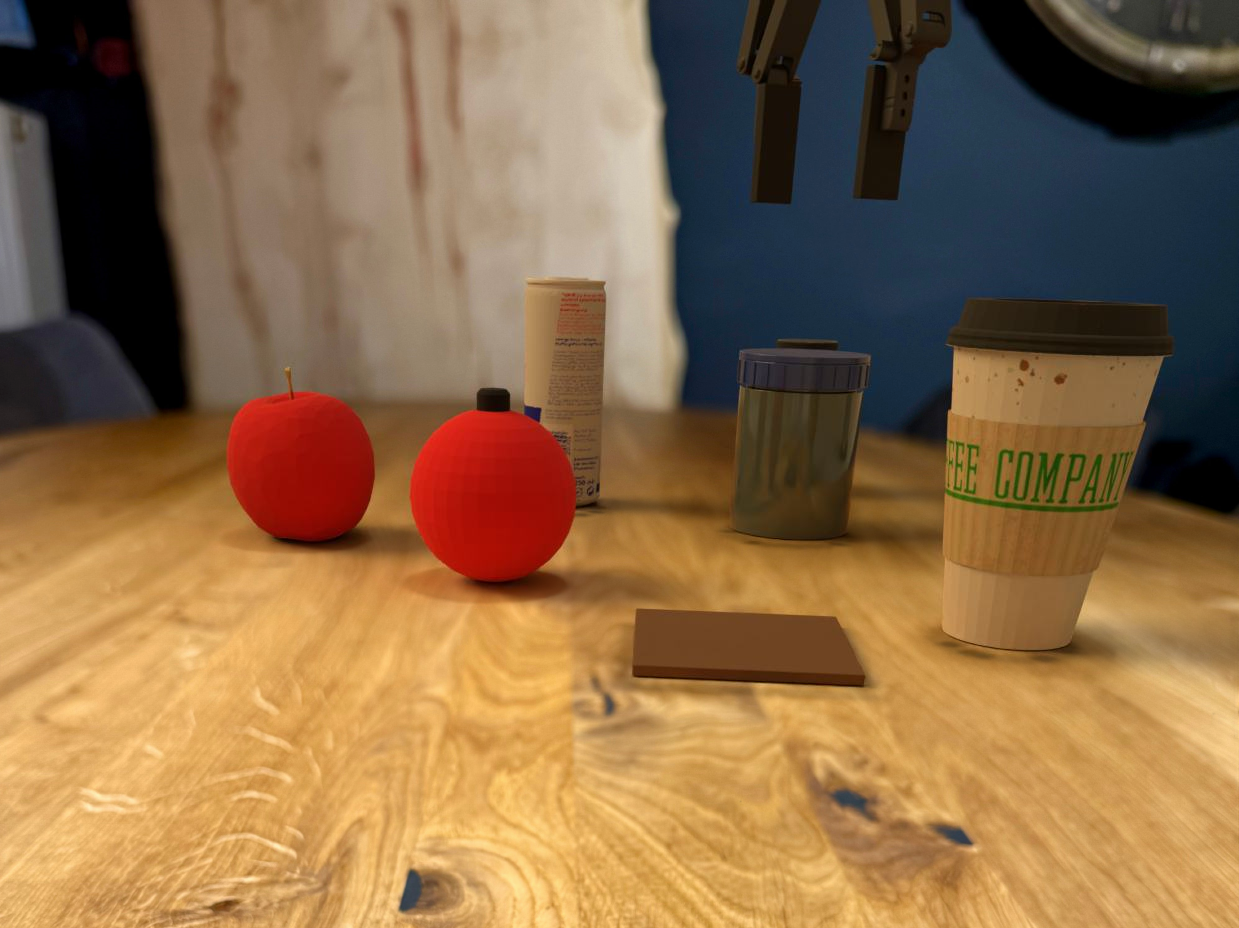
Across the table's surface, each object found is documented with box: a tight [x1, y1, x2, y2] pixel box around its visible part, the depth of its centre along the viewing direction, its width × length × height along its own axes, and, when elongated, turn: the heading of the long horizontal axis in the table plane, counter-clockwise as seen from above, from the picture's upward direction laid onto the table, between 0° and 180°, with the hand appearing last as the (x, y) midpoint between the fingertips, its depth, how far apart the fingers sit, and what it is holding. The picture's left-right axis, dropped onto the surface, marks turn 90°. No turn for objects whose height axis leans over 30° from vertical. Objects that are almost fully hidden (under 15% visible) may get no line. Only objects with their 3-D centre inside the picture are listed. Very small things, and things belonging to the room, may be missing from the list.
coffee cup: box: [941, 297, 1176, 651], centre depth 60 cm, size 10×10×15 cm
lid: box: [735, 347, 872, 391], centre depth 82 cm, size 8×8×2 cm
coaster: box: [631, 607, 866, 687], centre depth 59 cm, size 10×10×1 cm
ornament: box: [409, 387, 577, 583], centre depth 68 cm, size 9×9×10 cm
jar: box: [728, 383, 865, 541], centre depth 84 cm, size 8×8×11 cm
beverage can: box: [523, 276, 607, 507], centre depth 90 cm, size 6×6×15 cm
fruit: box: [226, 366, 376, 543], centre depth 78 cm, size 9×9×10 cm
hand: (820, 201), depth 78 cm, fingers open, 10 cm apart
